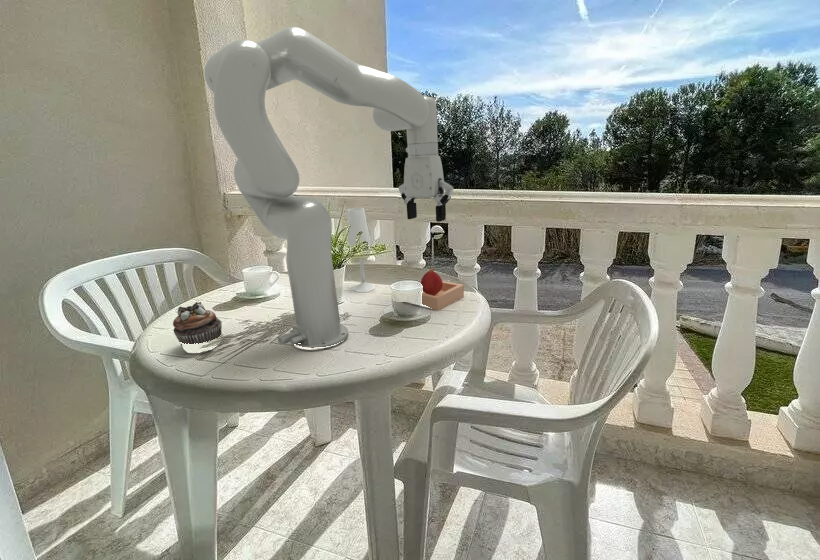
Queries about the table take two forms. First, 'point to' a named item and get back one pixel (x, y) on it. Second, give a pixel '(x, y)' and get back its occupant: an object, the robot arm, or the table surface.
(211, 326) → the cupcake
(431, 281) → the onion
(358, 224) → the white table lamp
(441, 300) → the tray
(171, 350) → the table surface
